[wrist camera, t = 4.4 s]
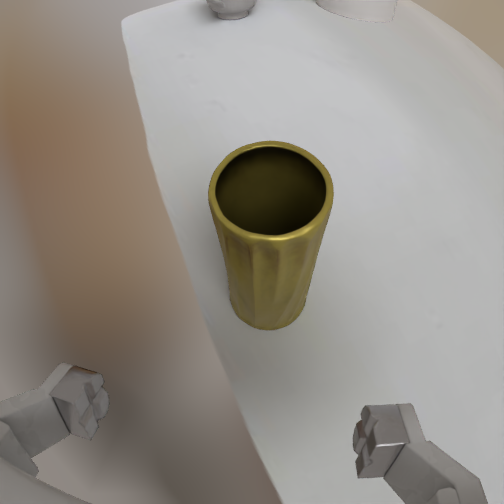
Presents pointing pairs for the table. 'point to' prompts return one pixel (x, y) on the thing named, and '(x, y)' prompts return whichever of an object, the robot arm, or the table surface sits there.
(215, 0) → the teacup
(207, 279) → the table surface
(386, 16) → the cylinder
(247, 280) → the vase
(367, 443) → the robot arm
